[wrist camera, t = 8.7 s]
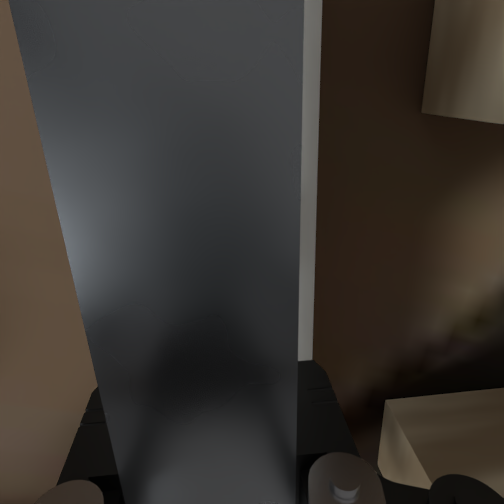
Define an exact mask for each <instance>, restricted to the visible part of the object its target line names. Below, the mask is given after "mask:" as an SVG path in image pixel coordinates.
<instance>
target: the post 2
mask: <svg viewBox="0 0 504 504" xmlns="http://www.w3.org/2000/svg"><path fill="white" fill-rule="evenodd" d="M378 466H379V469H380V471H381V473H382V475H383V477H384V478H386V479H388V480H390V481H393V482H396V483H400V484H405V485H410V486H415V487H420V488H425V489H430V487H431V485H432V484H433V482H434V481H435V480H436V479H437V478H439V477H441V476H444V475H447V474H461V475H466V476H469V477H472V478H475V479H477V480H479V481H481V482H483V483H484V484H486V485H488V486H489V487H490V488H492V489H493V490H494V491H496V492H497V493H498V494H499V495H501V496H502V497H503V498H504V388H496V389H487V390H477V391H467V392H458V393H448V394H438V395H429V396H419V397H409V398H400V399H390V400H385V407H384V415H383V423H382V431H381V439H380V447H379V455H378Z"/></svg>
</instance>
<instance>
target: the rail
mask: <svg viewBox="0 0 504 504" xmlns="http://www.w3.org/2000/svg"><path fill="white" fill-rule="evenodd" d="M9 4H10V9H11V13H12V17H13V22H14V26H15V30H16V34H17V39H18V43H19V47H20V52H21V56H22V60H23V65H24V69H25V73H26V78H27V82H28V86H29V90H30V95H31V99H32V103H33V108H34V112H35V116H36V121H37V125H38V129H39V134H40V138H41V142H42V147H43V151H44V155H45V159H46V164H47V168H48V172H49V177H50V181H51V185H52V190H53V194H54V198H55V203H56V207H57V211H58V216H59V220H60V224H61V228H62V233H63V237H64V241H65V246H66V250H67V254H68V259H69V263H70V267H71V272H72V276H73V280H74V284H75V289H76V293H77V297H78V302H79V306H80V310H81V315H82V319H83V323H84V328H85V332H86V336H87V341H88V345H89V349H90V353H91V358H92V362H93V366H94V371H95V375H96V379H97V384H98V388H99V392H100V397H101V401H102V405H103V409H104V414H105V418H106V422H107V427H108V431H109V435H110V440H111V444H112V448H113V453H114V457H115V461H116V466H117V470H118V474H119V478H120V483H121V487H122V491H123V496H124V500H125V504H295V494H296V438H297V382H298V325H299V269H300V213H301V156H302V100H303V44H304V0H9Z"/></svg>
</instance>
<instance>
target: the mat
mask: <svg viewBox="0 0 504 504" xmlns="http://www.w3.org/2000/svg"><path fill="white" fill-rule="evenodd" d="M321 28H322V0H304V44H303V100H302V156H301V213H300V269H299V325H298V361H305V360H312V351H313V315H314V279H315V243H316V208H317V172H318V136H319V100H320V64H321Z"/></svg>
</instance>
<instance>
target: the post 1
mask: <svg viewBox="0 0 504 504" xmlns="http://www.w3.org/2000/svg"><path fill="white" fill-rule="evenodd" d="M421 113H425V114H433V115H440V116H447V117H454V118H461V119H468V120H475V121H482V122H490V123H497V124H504V0H435V5H434V13H433V21H432V29H431V37H430V45H429V53H428V62H427V70H426V78H425V86H424V94H423V102H422V110H421Z"/></svg>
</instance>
